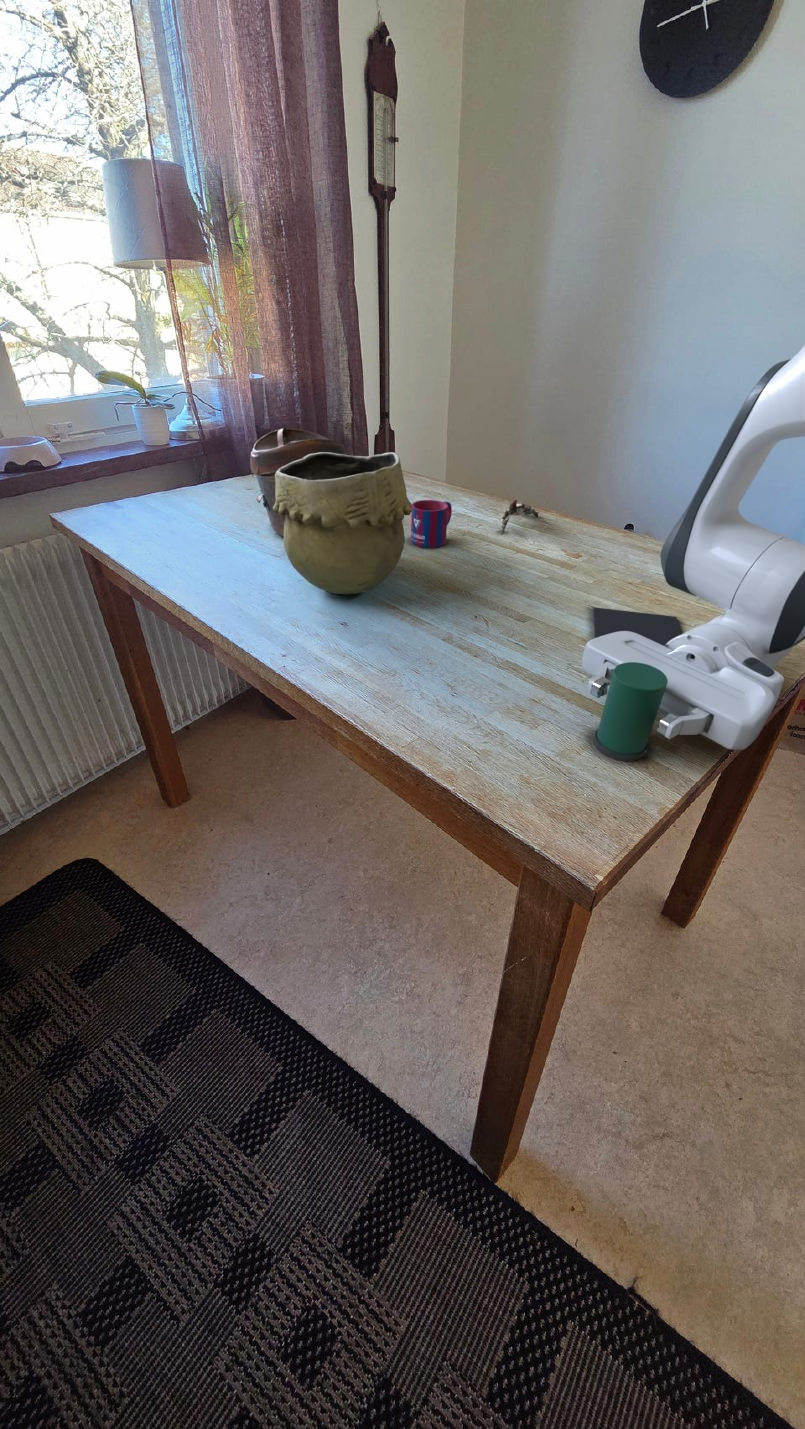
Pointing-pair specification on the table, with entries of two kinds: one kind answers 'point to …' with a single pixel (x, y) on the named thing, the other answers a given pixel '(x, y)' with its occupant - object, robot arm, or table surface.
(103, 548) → the table surface
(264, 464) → the brown planter
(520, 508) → the figurine
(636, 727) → the thermos cap
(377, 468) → the clay pot
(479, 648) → the table surface
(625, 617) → the mat
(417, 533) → the mug
